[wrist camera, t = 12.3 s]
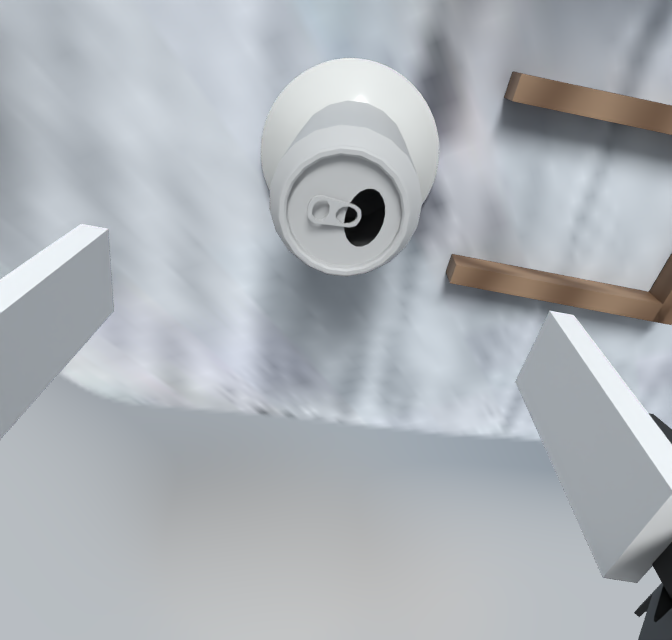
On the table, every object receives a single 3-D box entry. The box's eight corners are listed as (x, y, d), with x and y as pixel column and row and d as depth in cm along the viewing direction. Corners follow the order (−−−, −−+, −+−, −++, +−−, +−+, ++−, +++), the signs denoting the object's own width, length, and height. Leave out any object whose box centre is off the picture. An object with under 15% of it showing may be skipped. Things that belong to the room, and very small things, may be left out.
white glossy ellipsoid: (255, 222, 36) (252, 226, 35) (273, 39, 30) (271, 39, 29) (411, 252, 36) (412, 256, 36) (460, 79, 30) (463, 80, 30)
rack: (445, 271, 37) (449, 283, 35) (512, 71, 30) (521, 73, 28) (657, 311, 38) (671, 325, 36) (771, 126, 31) (795, 132, 29)
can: (386, 225, 35) (395, 306, 24) (285, 197, 34) (250, 268, 24) (422, 117, 31) (451, 159, 20) (309, 83, 30) (280, 108, 20)
